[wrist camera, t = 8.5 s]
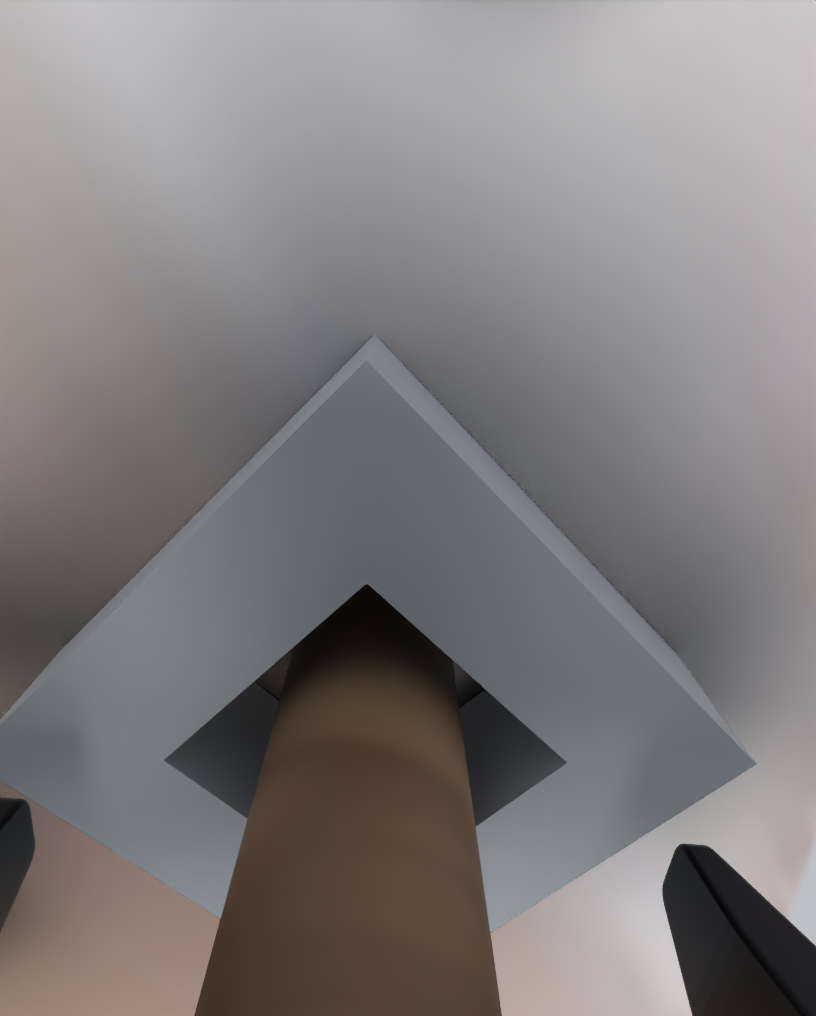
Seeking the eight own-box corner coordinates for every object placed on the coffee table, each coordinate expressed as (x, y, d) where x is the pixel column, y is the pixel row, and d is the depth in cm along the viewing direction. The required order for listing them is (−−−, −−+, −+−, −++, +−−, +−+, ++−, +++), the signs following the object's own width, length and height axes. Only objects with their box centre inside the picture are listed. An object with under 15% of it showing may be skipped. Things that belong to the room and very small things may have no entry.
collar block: (372, 873, 15) (367, 1011, 12) (61, 649, 13) (-34, 759, 10) (679, 655, 13) (756, 763, 10) (374, 334, 10) (366, 360, 8)
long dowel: (373, 739, 14) (333, 1499, 5) (263, 651, 13) (7, 1394, 4) (482, 653, 13) (641, 1386, 4) (373, 554, 12) (316, 1230, 4)
